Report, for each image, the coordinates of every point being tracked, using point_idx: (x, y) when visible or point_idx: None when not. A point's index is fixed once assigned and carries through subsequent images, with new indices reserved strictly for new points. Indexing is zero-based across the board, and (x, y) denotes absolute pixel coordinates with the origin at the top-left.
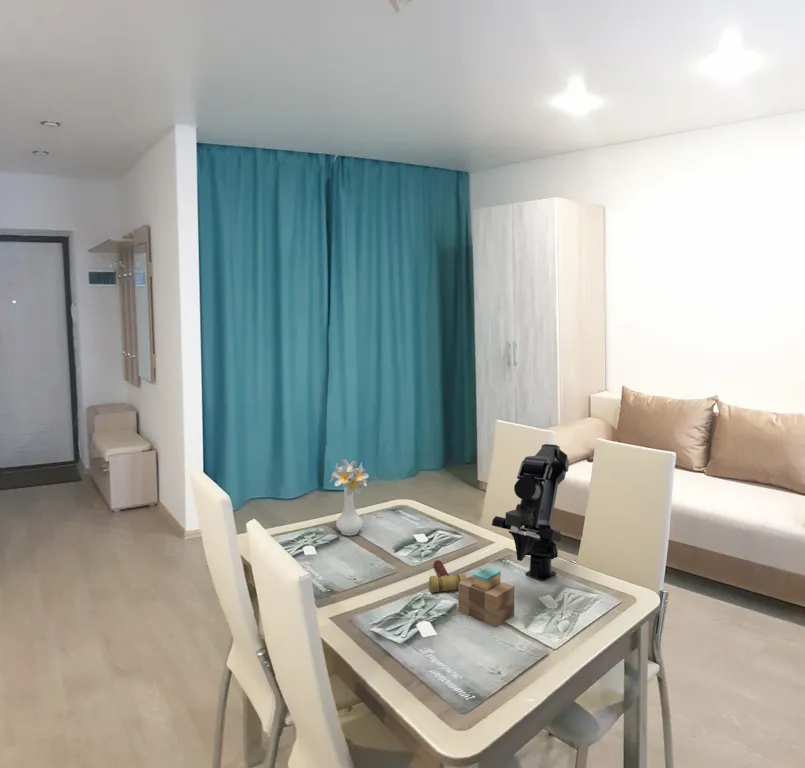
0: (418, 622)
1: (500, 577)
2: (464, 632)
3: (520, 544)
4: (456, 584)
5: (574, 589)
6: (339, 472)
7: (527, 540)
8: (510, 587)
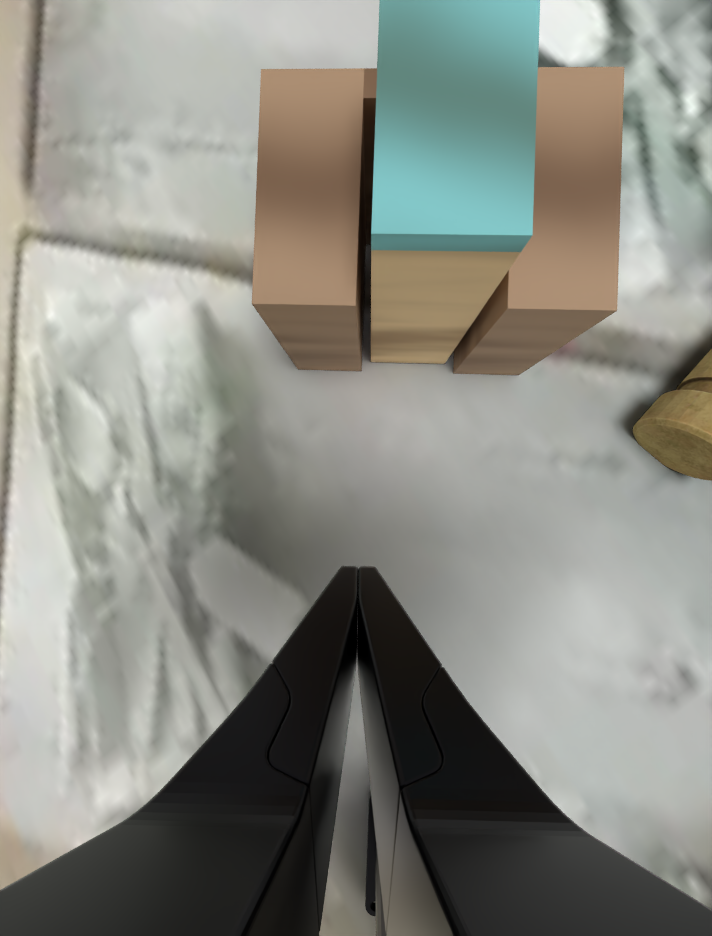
0: (605, 26)
1: (371, 269)
2: None
3: (382, 755)
4: (698, 379)
5: None
6: None
7: (93, 838)
8: (263, 265)
